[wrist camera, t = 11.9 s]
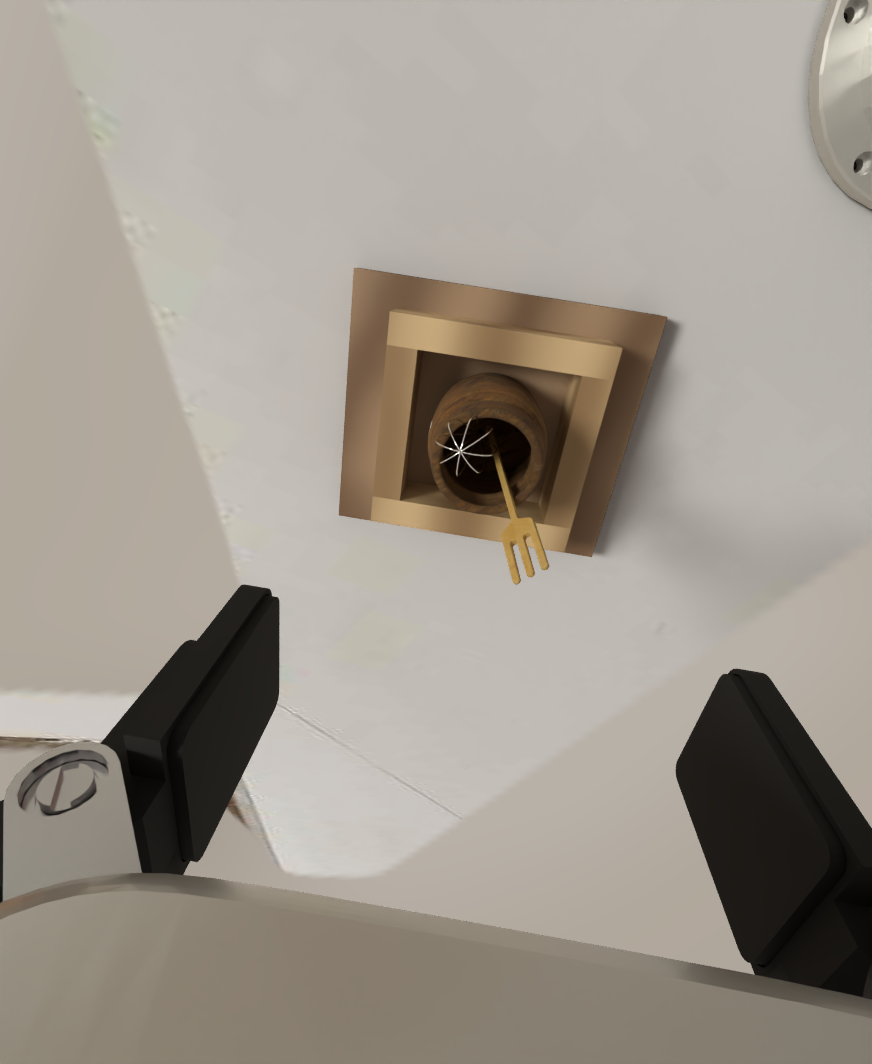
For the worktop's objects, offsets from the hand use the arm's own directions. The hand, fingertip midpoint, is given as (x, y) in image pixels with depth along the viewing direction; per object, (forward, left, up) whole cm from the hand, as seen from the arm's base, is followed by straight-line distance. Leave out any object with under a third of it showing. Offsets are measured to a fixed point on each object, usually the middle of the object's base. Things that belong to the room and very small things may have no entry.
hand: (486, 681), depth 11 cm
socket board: (0, 0, -22) cm, 22 cm away
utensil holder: (0, 0, -21) cm, 21 cm away
